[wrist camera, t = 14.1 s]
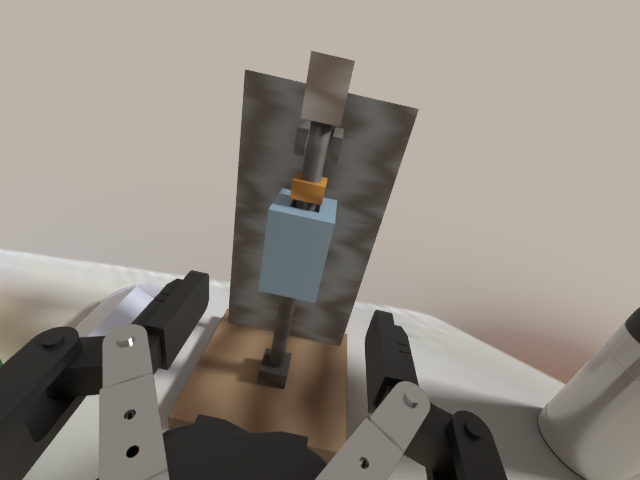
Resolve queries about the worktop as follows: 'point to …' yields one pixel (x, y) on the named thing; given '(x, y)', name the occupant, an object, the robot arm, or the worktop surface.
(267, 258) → the sleeve
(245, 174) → the grey rod stand
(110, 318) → the wedge on round base
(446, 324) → the worktop surface
